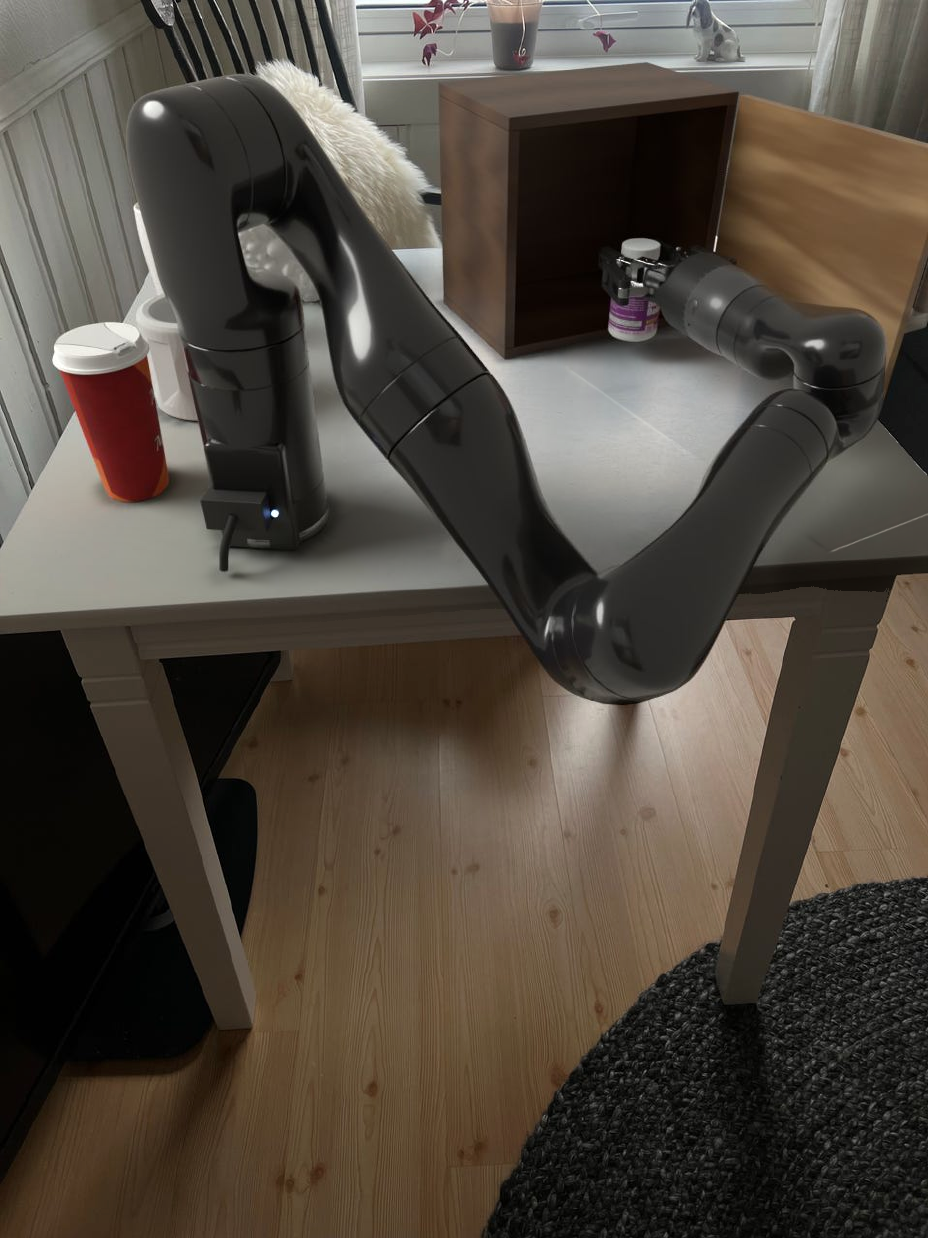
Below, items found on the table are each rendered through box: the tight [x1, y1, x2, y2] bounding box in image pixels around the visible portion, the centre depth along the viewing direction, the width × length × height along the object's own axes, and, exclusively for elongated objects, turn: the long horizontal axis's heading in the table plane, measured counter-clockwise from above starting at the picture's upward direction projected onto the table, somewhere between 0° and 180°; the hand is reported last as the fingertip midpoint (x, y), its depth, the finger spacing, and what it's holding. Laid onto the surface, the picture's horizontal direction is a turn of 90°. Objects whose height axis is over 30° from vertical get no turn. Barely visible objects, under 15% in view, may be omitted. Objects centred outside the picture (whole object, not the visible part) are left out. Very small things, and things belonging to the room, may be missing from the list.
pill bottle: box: [608, 238, 660, 342], centre depth 100 cm, size 5×5×10 cm
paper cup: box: [52, 321, 170, 503], centre depth 81 cm, size 8×8×14 cm
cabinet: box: [437, 61, 740, 360], centre depth 107 cm, size 18×26×24 cm
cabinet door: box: [714, 93, 928, 402], centre depth 96 cm, size 7×26×24 cm, turn 28°
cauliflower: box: [238, 224, 319, 303], centre depth 118 cm, size 19×20×20 cm
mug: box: [135, 293, 198, 422], centre depth 96 cm, size 14×11×10 cm
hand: (627, 251), depth 100 cm, fingers closed on pill bottle, 5 cm apart
